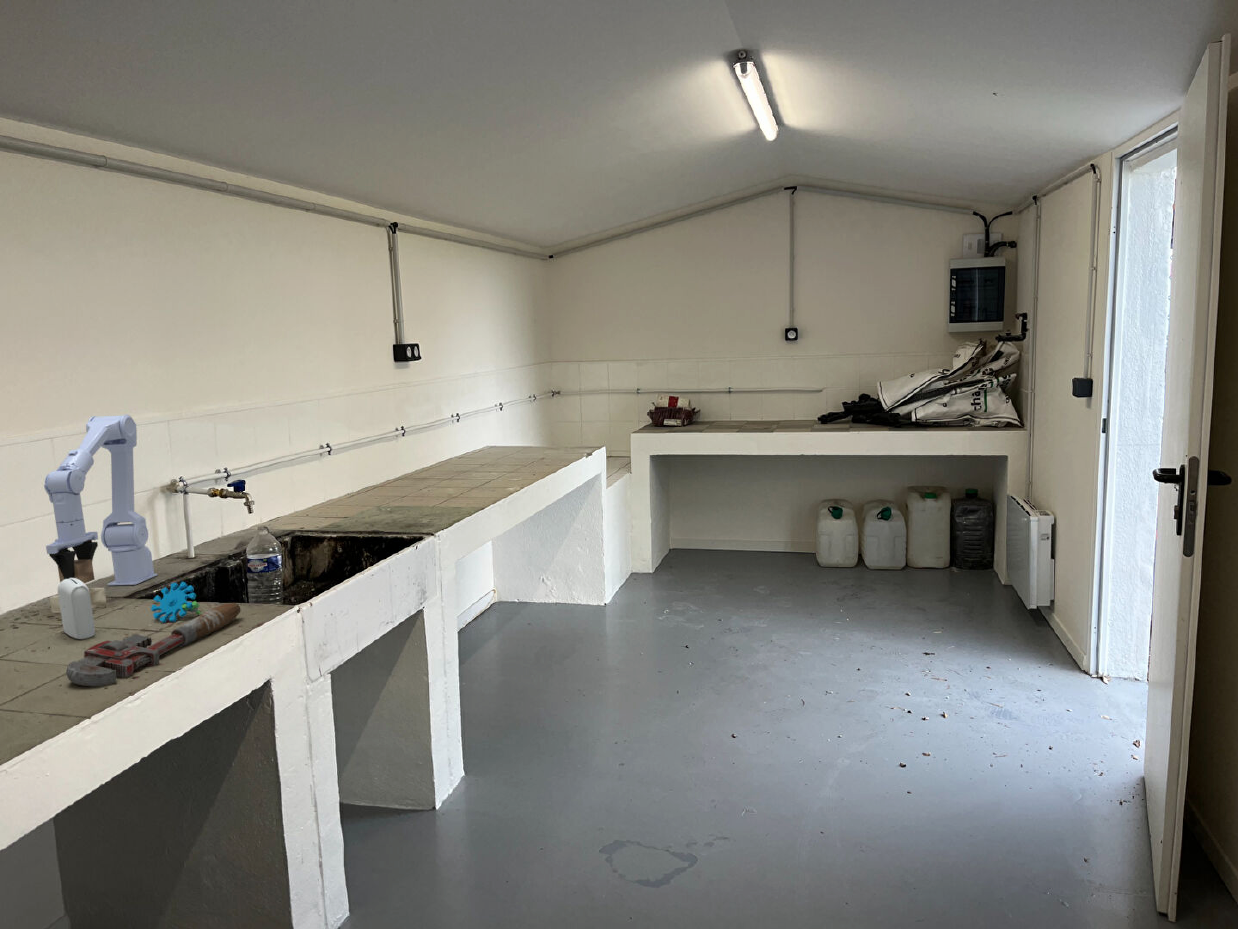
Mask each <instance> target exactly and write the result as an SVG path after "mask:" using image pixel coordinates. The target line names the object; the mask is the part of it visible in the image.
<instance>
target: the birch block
mask: <svg viewBox="0 0 1238 929" xmlns="http://www.w3.org/2000/svg"><path fill="white" fill-rule="evenodd" d="M88 589H89V593H90V600H91V606H92V609H94V608H97V607H99V606H102V605H104V604H106V603H107V598H106V597H107V596H106V589H105V587H88ZM49 603H50V609H51V613H52V614H54V613H55V614H57V613H58V614H61V610H60V603H59V597H58V594H56V595H53V596H51V597H49Z"/></svg>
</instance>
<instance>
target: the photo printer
mask: <svg viewBox="0 0 1238 929" xmlns="http://www.w3.org/2000/svg"><path fill="white" fill-rule="evenodd" d="M88 588H89V587H88V586H87V585H86V583H83V582H82V581H80V580H79V579H76V578H69V579H65V580H63V581H62V582H61V583H60V582H59V584H58V585H57V595H58V597H59V603H60V610H61V613H60V615H61V616H60V617H61V622H62V628H63V632H64V633H65V634H66V635H68V636H70V637H72V638H74V639H76V640H84V639H89V638H91V637H94V635H96V627H95V621H94V614H93V608H92V606H91V600H90V593H89V589H88Z"/></svg>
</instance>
